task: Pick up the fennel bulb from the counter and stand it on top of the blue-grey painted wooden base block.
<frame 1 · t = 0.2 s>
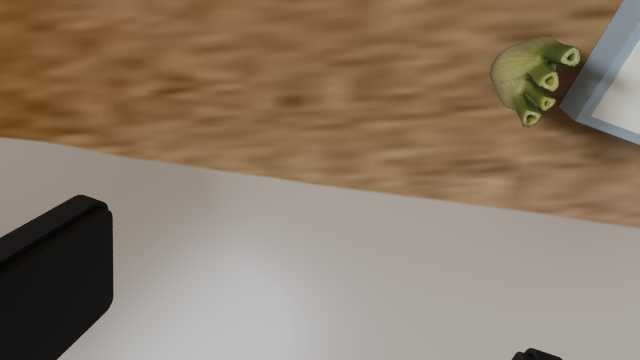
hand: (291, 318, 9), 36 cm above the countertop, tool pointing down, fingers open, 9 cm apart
fennel bulb: (518, 67, 39), on the countertop
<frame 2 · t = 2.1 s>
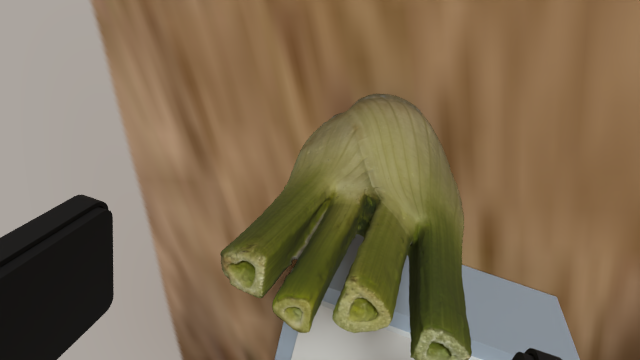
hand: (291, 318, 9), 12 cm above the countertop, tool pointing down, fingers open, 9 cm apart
fennel bulb: (388, 142, 19), on the countertop
base block: (400, 337, 24), on the countertop
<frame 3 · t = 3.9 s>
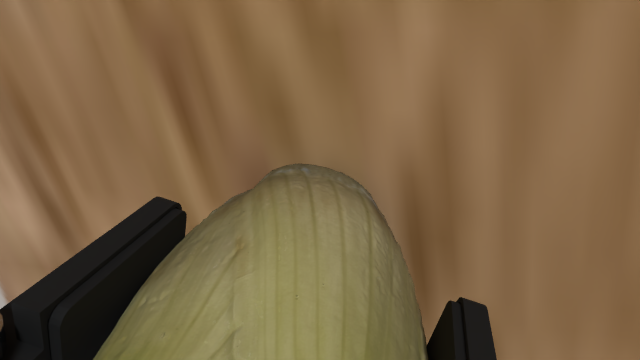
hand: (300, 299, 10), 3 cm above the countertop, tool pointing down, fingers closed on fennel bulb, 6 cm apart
fennel bulb: (326, 227, 13), on the countertop, touching gripper
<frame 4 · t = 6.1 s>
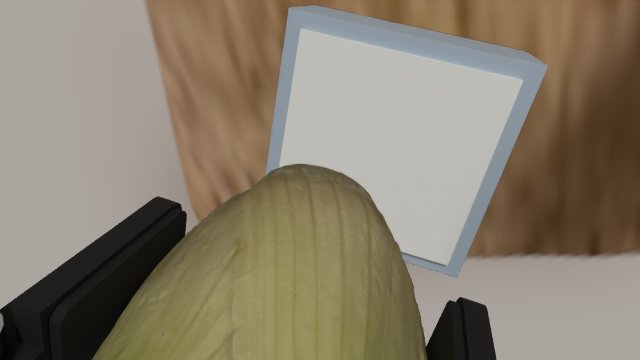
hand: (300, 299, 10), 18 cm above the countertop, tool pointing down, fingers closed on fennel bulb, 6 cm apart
fennel bulb: (325, 227, 13), point 14 cm above the countertop, touching gripper
base block: (389, 126, 26), on the countertop
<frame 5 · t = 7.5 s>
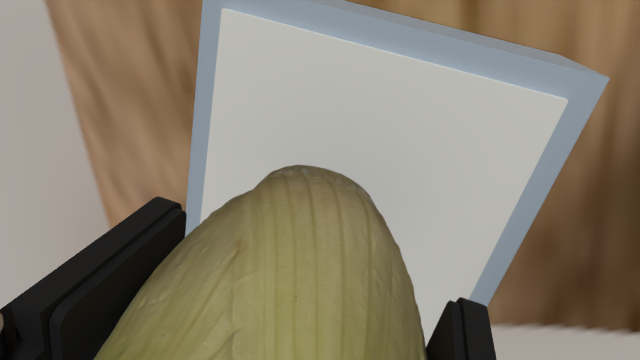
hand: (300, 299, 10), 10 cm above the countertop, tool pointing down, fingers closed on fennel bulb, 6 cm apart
fennel bulb: (325, 228, 13), point 7 cm above the countertop, touching gripper
base block: (365, 152, 19), on the countertop
when the fingers open (9 cm above the countertop, at t = 8.6 s): fennel bulb drops 1 cm, resting on base block.
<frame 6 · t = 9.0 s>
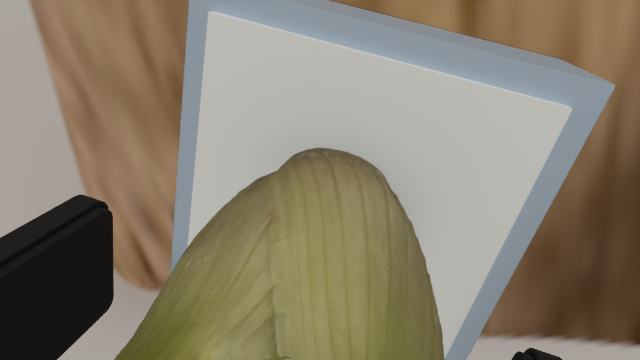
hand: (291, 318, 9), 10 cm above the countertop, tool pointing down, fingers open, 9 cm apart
fennel bulb: (341, 209, 14), point 5 cm above the countertop, touching base block
base block: (360, 159, 18), on the countertop
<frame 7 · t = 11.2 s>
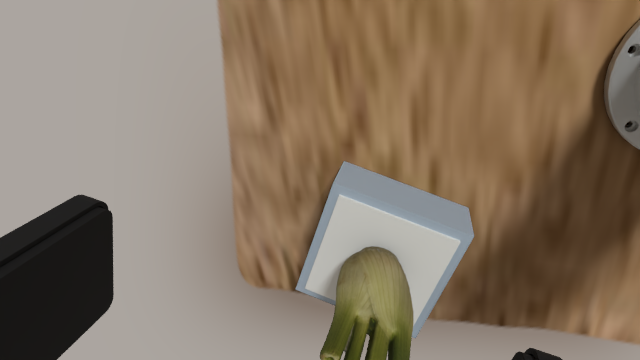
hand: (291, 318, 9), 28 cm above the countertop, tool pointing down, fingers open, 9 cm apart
fennel bulb: (378, 265, 36), point 5 cm above the countertop, touching base block
base block: (382, 235, 40), on the countertop
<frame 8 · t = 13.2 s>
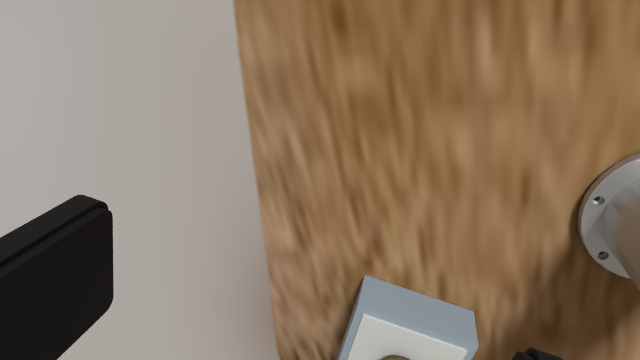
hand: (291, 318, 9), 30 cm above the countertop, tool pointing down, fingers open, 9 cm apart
base block: (401, 332, 47), on the countertop
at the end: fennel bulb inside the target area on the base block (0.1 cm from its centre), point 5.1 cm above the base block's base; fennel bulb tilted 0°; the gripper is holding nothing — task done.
